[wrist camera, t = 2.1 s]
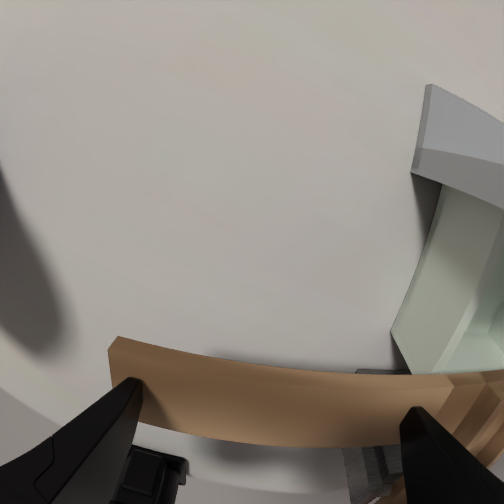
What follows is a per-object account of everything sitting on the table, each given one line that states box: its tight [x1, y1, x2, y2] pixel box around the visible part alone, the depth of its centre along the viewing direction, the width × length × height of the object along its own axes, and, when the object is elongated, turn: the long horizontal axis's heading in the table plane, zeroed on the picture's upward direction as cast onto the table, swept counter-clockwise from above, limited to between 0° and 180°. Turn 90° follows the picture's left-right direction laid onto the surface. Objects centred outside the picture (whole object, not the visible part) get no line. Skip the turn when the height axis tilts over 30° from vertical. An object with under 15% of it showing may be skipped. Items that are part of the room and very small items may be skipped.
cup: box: [390, 184, 504, 375], centre depth 11 cm, size 8×8×4 cm
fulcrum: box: [342, 369, 412, 504], centre depth 14 cm, size 8×10×7 cm
